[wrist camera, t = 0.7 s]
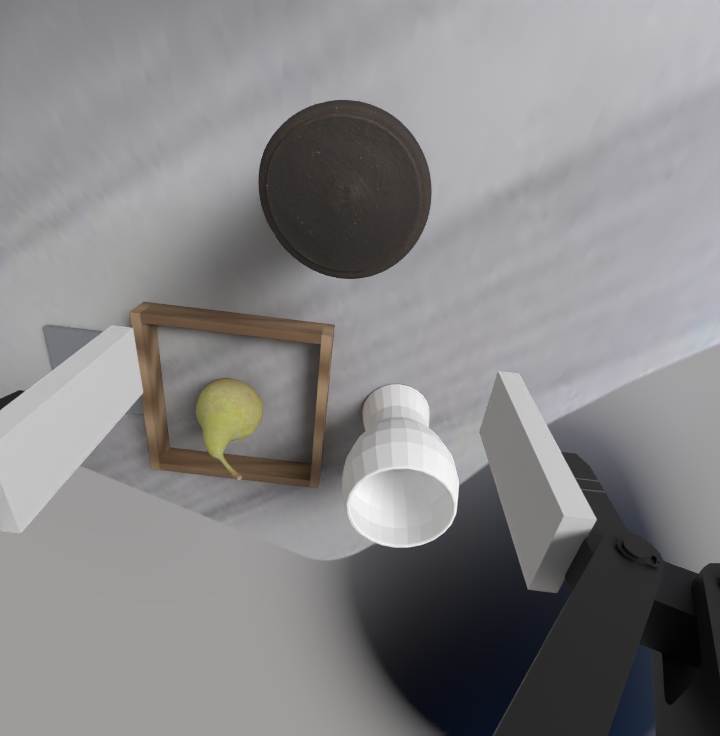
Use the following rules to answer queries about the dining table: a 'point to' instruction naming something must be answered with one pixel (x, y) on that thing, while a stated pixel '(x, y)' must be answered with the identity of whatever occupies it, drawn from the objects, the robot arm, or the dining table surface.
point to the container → (345, 188)
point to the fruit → (227, 415)
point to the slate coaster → (74, 349)
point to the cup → (399, 472)
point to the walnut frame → (233, 323)
